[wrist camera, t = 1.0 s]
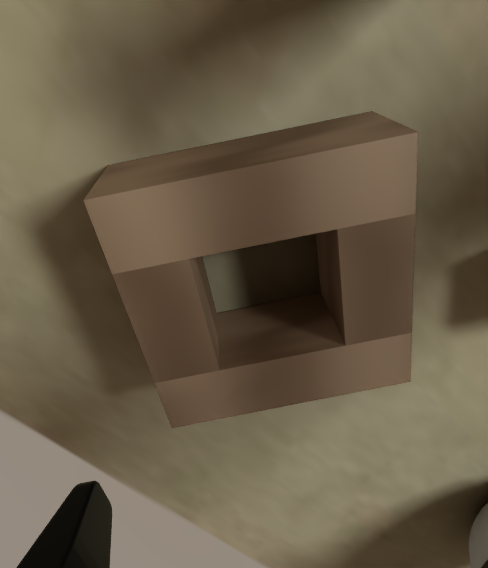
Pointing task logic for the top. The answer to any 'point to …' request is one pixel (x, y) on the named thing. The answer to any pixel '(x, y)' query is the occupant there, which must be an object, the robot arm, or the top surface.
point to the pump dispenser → (479, 540)
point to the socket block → (260, 230)
